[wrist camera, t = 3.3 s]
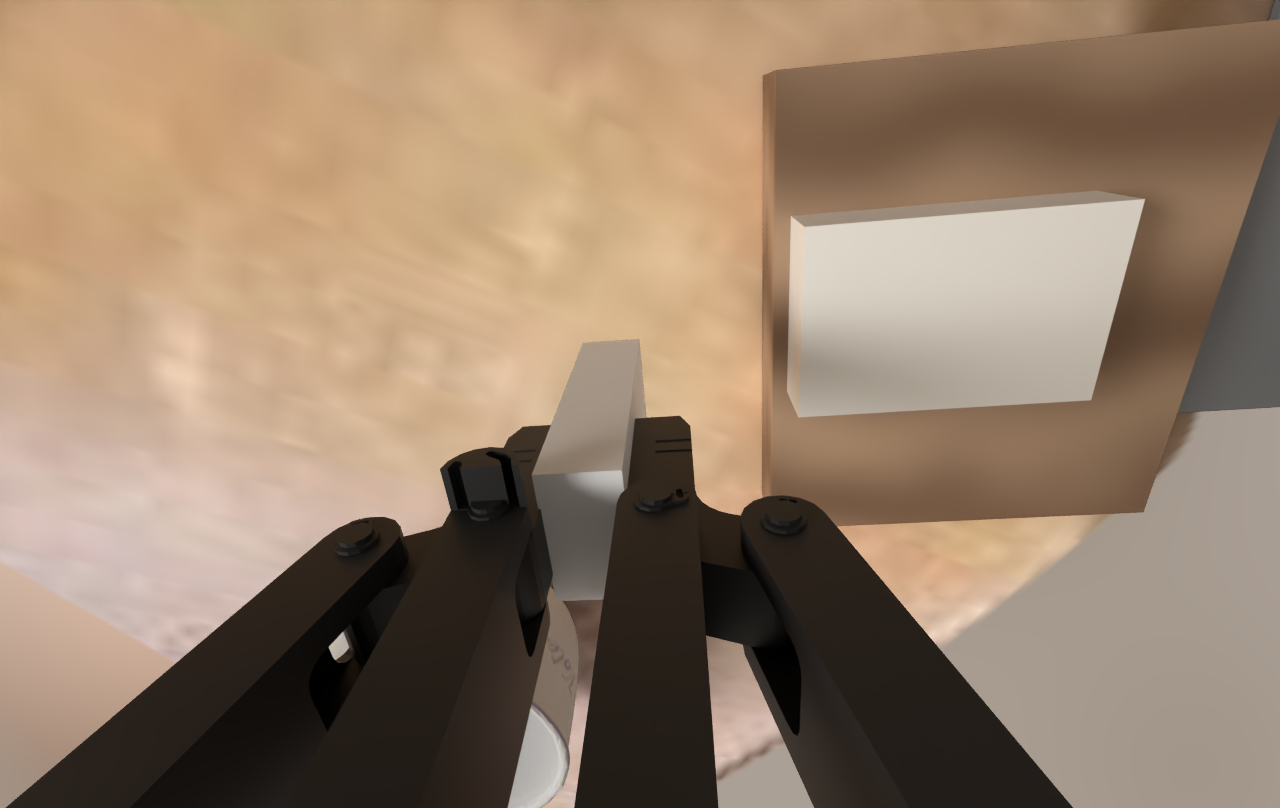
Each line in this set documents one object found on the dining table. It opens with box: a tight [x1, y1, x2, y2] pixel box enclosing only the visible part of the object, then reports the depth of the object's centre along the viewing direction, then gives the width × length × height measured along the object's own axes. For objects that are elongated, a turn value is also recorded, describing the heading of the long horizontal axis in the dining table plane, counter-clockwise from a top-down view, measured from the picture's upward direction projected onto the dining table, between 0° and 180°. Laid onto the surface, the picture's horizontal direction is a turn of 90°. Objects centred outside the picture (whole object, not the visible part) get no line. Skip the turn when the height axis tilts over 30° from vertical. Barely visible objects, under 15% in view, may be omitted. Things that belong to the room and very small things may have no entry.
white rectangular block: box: [787, 191, 1145, 418], centre depth 18 cm, size 6×9×2 cm, turn 95°
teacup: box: [329, 586, 579, 808], centre depth 26 cm, size 14×11×8 cm
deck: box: [762, 19, 1280, 526], centre depth 21 cm, size 16×14×2 cm
